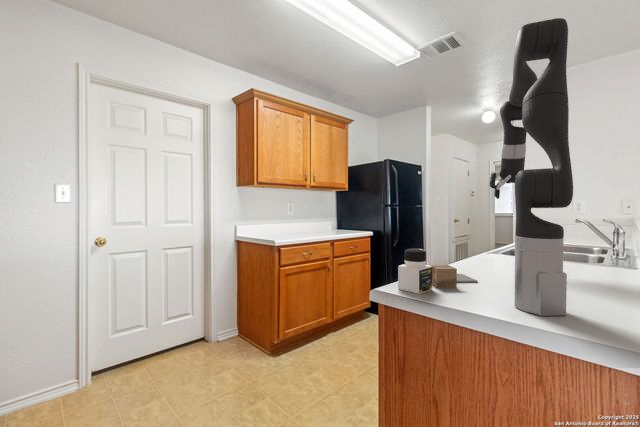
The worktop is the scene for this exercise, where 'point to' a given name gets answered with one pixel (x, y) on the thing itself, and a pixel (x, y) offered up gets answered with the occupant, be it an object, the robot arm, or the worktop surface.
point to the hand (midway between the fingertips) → (509, 197)
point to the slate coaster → (465, 279)
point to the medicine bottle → (415, 272)
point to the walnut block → (444, 276)
